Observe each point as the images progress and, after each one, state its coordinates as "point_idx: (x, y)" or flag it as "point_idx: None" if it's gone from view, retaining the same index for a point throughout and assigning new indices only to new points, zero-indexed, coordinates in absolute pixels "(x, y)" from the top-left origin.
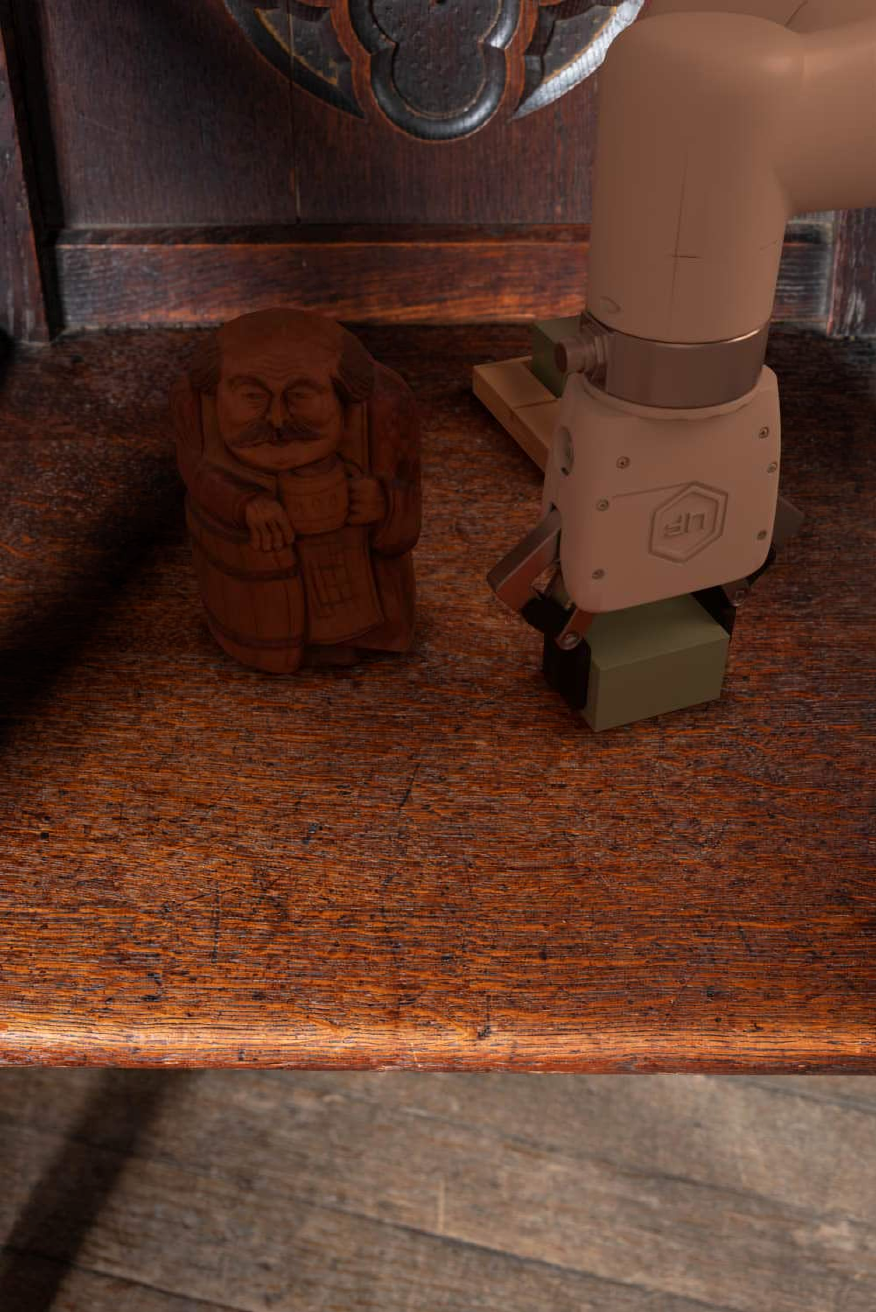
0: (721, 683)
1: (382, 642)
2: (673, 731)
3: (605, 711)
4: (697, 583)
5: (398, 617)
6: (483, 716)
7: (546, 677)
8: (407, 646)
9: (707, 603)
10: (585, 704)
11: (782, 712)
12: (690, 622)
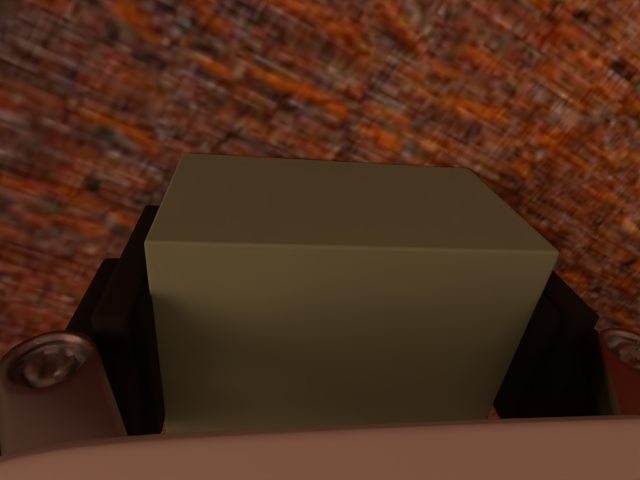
0: (176, 169)
1: None
2: (331, 106)
3: (472, 186)
4: (359, 475)
5: None
6: (578, 273)
7: None
8: None
9: (152, 368)
10: None
11: (52, 46)
12: (226, 325)
